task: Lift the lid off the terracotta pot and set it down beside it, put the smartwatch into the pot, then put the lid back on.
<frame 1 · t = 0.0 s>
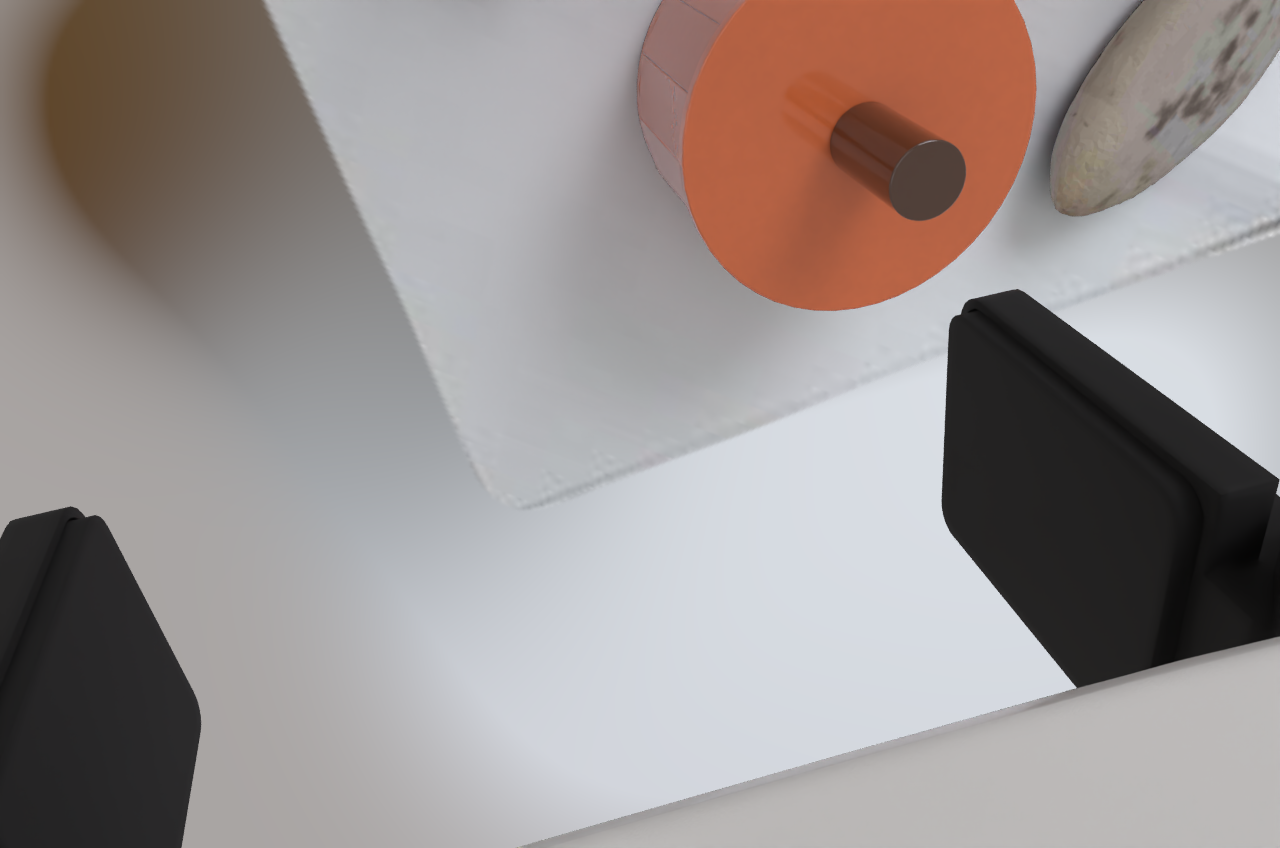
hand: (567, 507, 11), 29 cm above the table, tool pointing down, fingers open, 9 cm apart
decorative stone: (1161, 48, 43), on the table
lid: (857, 134, 34), point 7 cm above the table, touching pot
pot: (779, 82, 40), on the table
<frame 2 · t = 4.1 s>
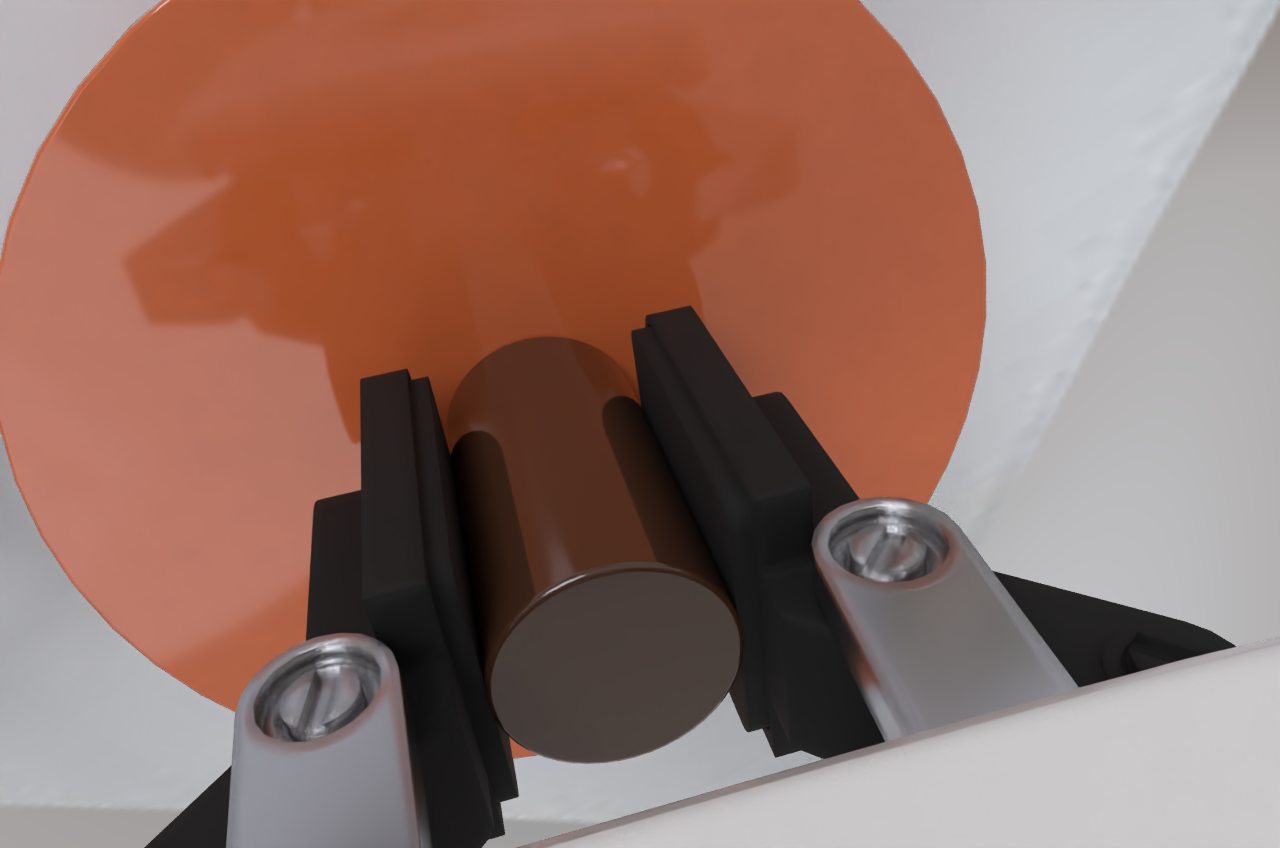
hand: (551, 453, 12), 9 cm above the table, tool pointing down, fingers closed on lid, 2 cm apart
lid: (536, 401, 13), point 8 cm above the table, touching gripper, pot
when the fingers open (2 cm above the table, at t = 11.0 s): lid stays where it is, point 1 cm above the table.
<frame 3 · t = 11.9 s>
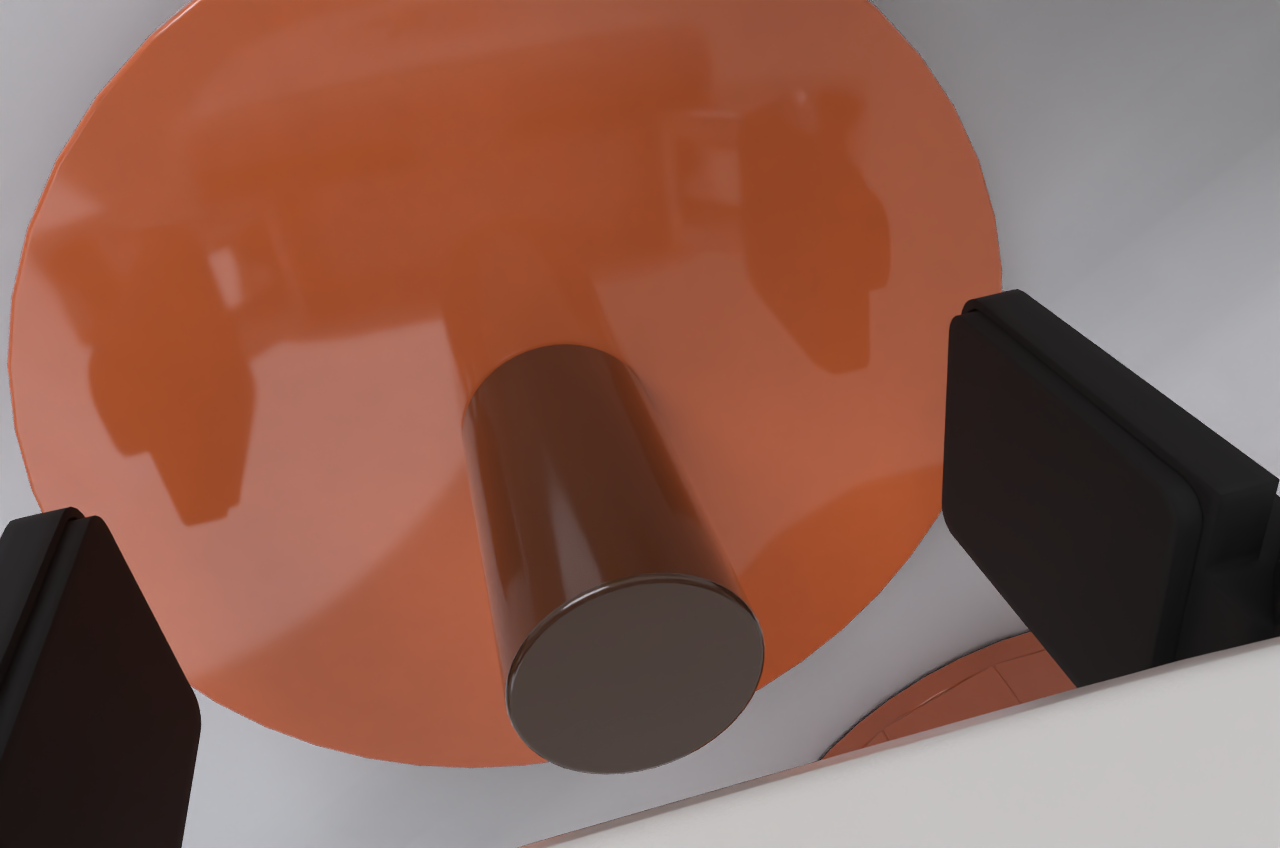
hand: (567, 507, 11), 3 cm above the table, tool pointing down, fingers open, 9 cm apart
lid: (551, 408, 13), point 1 cm above the table
pot: (1013, 823, 22), on the table
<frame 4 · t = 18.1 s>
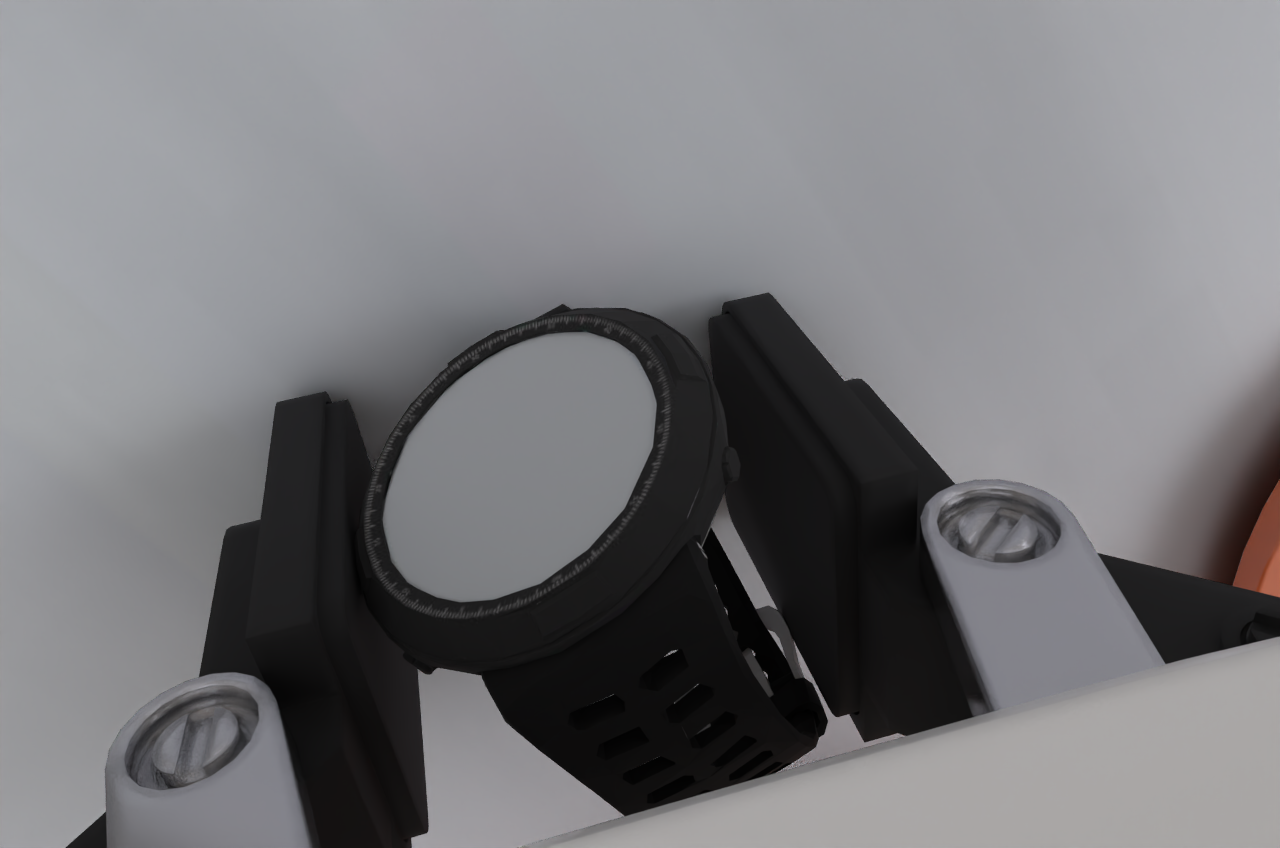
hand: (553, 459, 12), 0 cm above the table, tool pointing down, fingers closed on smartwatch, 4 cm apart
smartwatch: (547, 436, 13), on the table, touching gripper
when the fingers open (7 cm above the table, at t = 26.0 s): smartwatch stays where it is, resting on pot.
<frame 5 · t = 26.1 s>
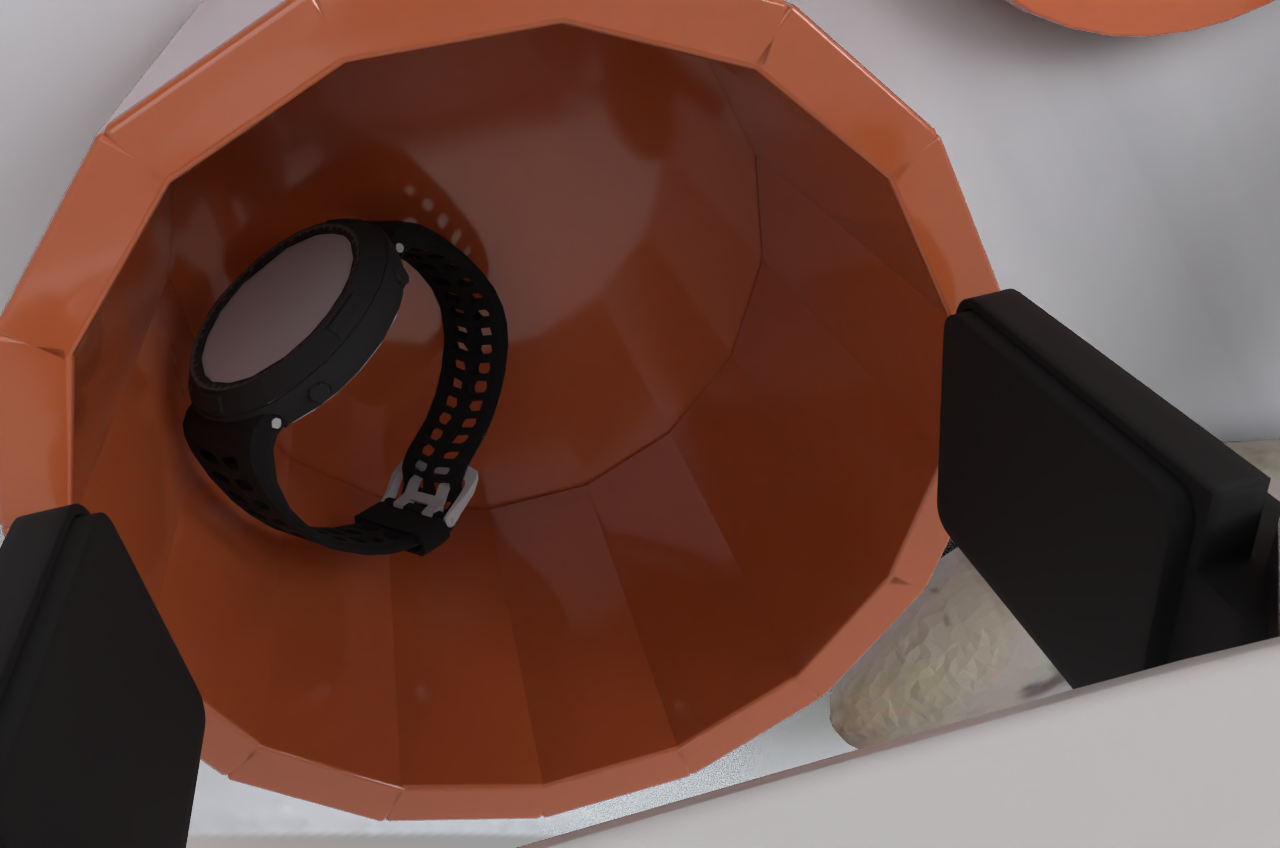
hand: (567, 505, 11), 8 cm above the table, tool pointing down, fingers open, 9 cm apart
decorative stone: (1077, 547, 26), on the table
pot: (482, 255, 18), on the table
smartwatch: (460, 279, 18), point 1 cm above the table, touching pot
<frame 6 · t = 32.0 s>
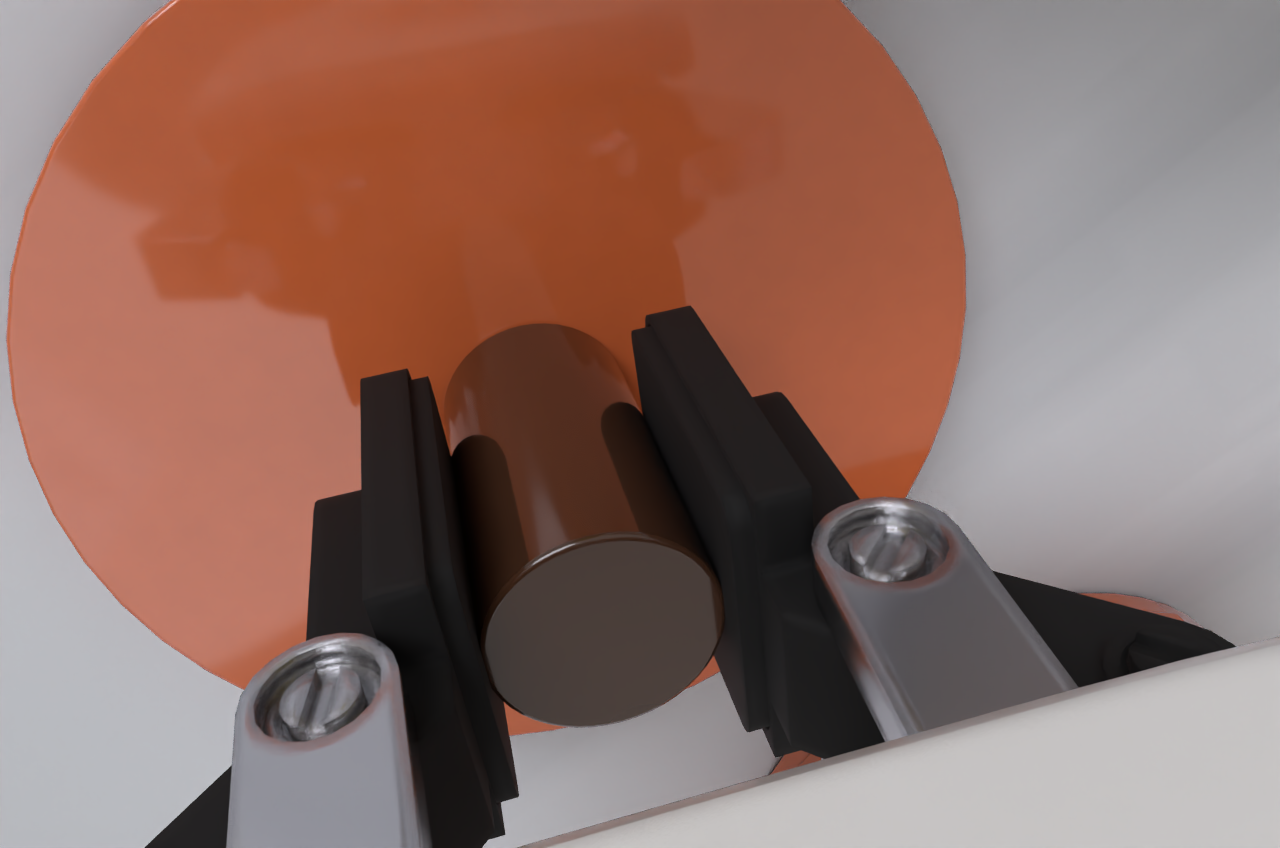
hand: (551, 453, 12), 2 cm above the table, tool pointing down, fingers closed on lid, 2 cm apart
lid: (531, 386, 14), point 1 cm above the table, touching gripper
pot: (991, 797, 22), on the table
when the fingers open (9 cm above the table, at t = 39.0 s): lid stays where it is, resting on pot.
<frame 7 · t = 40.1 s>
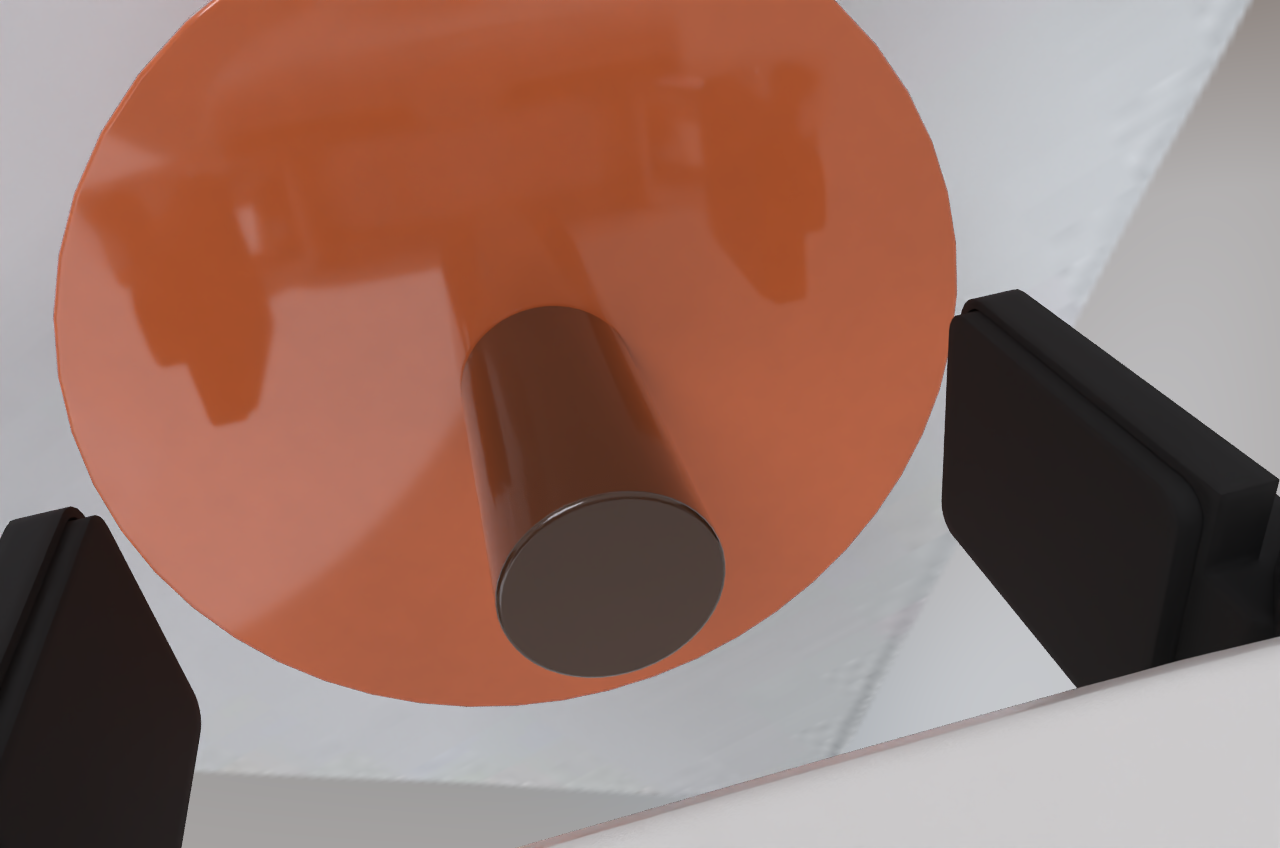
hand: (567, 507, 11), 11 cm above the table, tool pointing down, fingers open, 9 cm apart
lid: (543, 367, 15), point 7 cm above the table, touching pot
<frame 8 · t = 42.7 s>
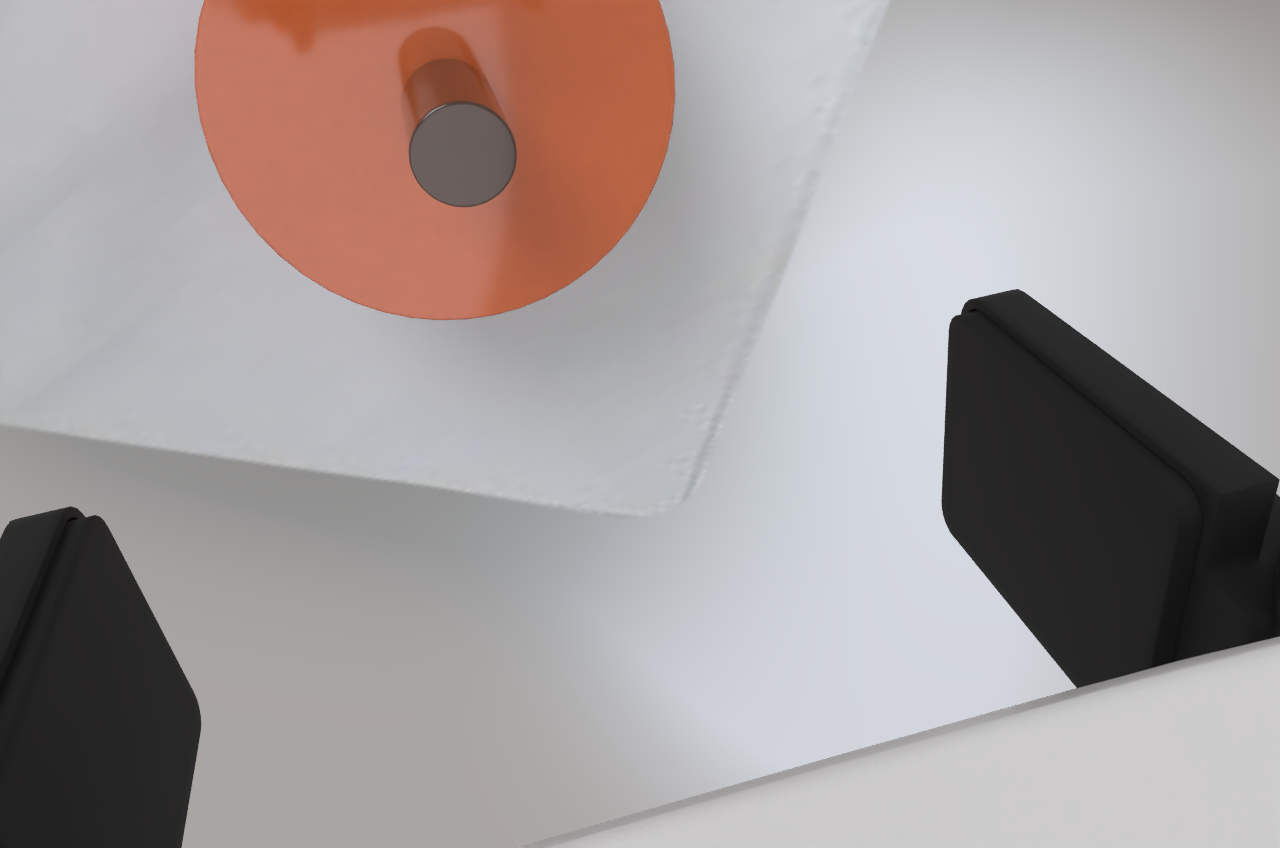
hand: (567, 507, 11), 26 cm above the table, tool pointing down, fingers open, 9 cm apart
lid: (447, 101, 27), point 7 cm above the table, touching pot
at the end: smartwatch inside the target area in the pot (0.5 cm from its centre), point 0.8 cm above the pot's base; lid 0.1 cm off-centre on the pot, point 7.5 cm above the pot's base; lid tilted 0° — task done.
